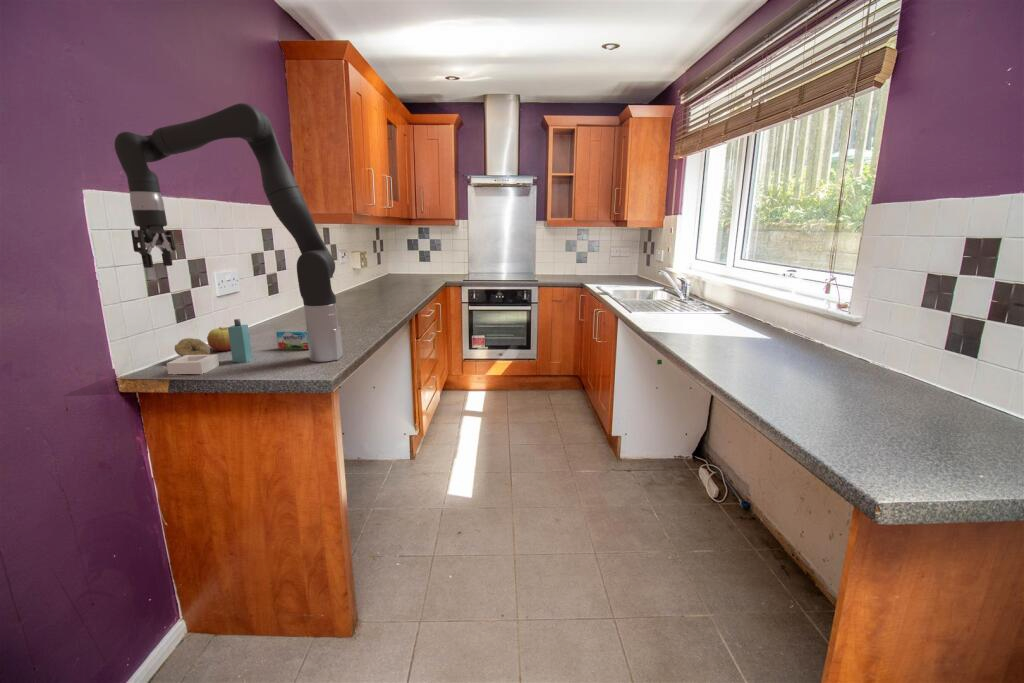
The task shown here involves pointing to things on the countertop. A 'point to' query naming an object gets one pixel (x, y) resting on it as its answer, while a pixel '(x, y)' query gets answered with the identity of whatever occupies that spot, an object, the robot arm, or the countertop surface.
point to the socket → (193, 364)
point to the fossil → (192, 347)
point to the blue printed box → (292, 340)
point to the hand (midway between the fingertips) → (158, 266)
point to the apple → (219, 339)
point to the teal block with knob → (240, 342)
